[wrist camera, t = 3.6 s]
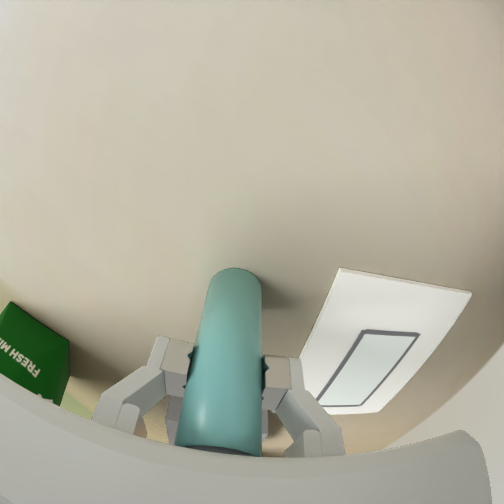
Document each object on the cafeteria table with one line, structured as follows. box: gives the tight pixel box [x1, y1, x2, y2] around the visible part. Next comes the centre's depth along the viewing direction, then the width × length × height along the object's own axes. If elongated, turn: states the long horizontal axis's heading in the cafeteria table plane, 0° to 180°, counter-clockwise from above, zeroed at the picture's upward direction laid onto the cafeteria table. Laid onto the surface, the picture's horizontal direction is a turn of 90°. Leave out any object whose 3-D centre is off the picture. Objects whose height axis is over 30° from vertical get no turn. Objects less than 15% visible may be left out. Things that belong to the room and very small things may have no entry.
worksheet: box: [271, 267, 472, 415], centre depth 18 cm, size 15×11×1 cm
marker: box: [174, 268, 262, 457], centre depth 10 cm, size 3×3×10 cm
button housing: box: [165, 395, 268, 445], centre depth 21 cm, size 8×8×3 cm
